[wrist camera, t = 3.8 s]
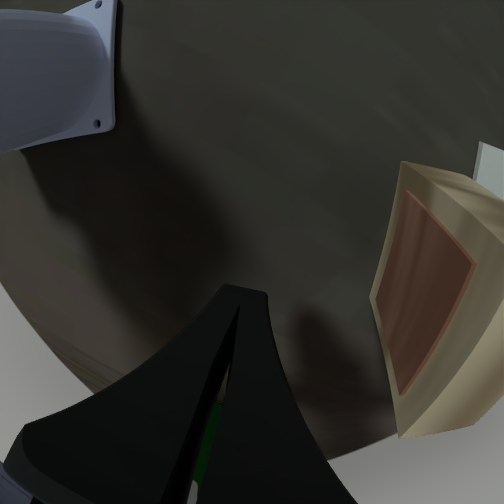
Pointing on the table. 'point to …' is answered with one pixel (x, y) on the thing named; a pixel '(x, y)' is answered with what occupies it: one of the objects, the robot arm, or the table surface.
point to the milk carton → (204, 453)
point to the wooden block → (441, 300)
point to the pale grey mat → (490, 169)
